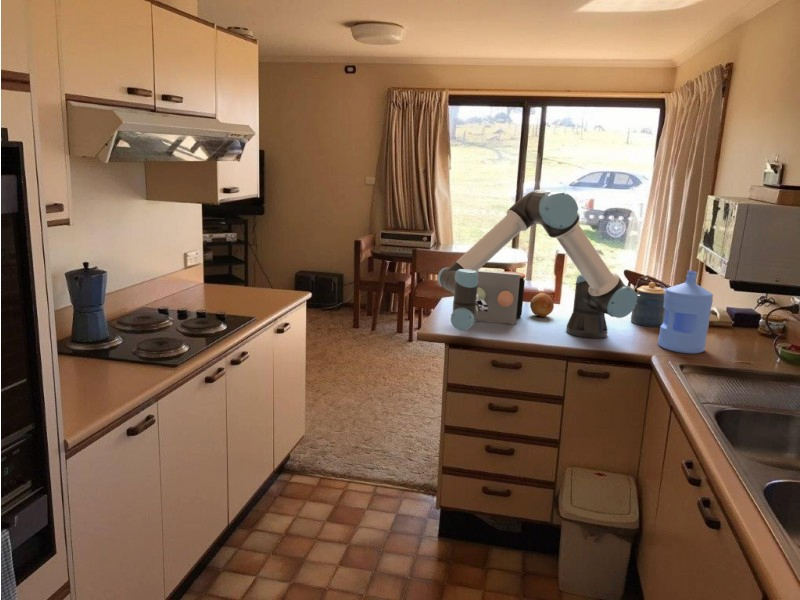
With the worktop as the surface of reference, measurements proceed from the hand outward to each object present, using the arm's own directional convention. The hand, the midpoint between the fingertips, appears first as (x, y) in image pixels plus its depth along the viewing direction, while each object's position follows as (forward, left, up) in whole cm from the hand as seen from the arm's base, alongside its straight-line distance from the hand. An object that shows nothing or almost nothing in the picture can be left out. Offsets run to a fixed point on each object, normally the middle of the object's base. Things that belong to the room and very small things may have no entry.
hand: (475, 297), depth 235 cm
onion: (+18, -34, -11) cm, 40 cm away
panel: (+9, -9, -11) cm, 17 cm away
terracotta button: (+4, -13, -3) cm, 14 cm away
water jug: (-26, -71, -11) cm, 76 cm away
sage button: (+10, -4, -3) cm, 11 cm away
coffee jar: (+18, -20, -11) cm, 29 cm away
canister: (+9, -77, -11) cm, 78 cm away
